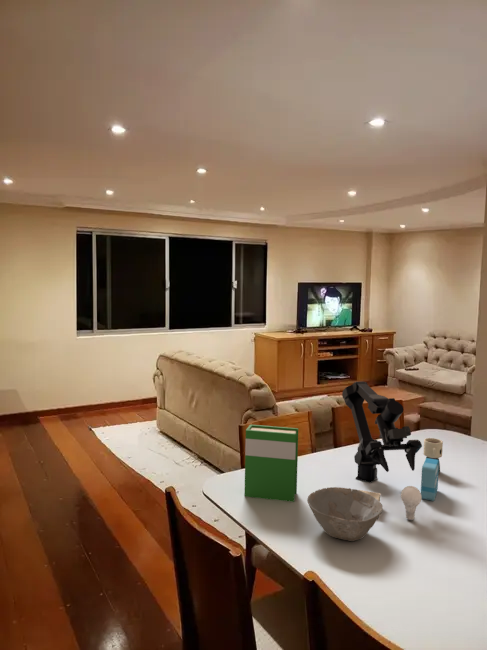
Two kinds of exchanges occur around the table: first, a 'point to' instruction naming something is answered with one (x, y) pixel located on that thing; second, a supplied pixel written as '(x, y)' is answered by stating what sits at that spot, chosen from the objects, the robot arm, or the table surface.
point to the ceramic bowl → (344, 511)
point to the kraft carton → (373, 494)
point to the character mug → (433, 448)
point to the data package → (429, 479)
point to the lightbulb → (411, 500)
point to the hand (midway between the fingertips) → (400, 470)
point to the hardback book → (271, 462)
